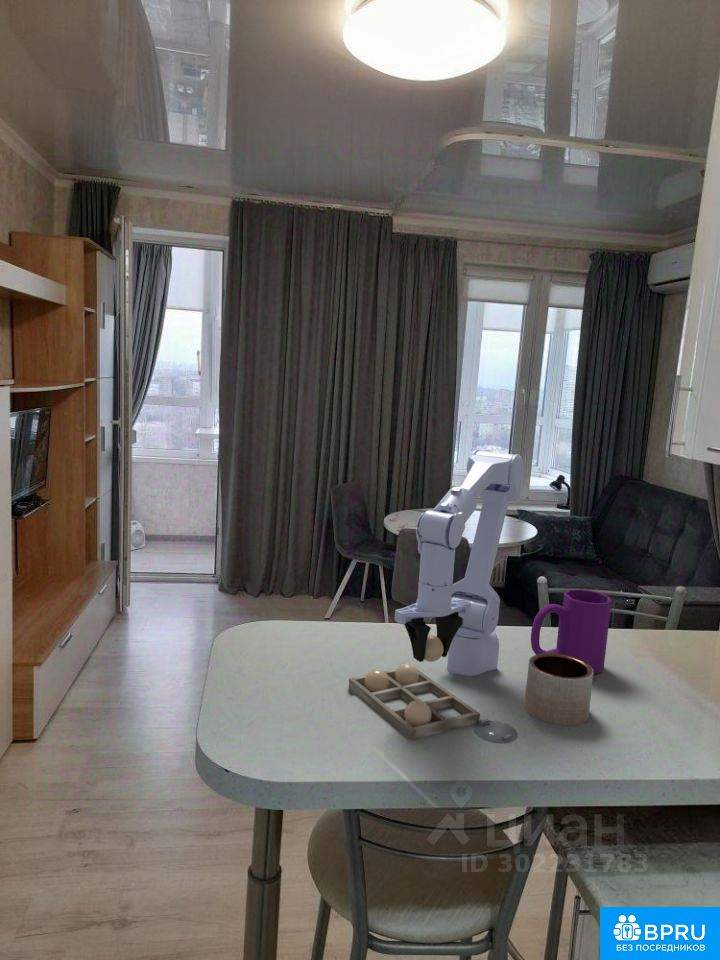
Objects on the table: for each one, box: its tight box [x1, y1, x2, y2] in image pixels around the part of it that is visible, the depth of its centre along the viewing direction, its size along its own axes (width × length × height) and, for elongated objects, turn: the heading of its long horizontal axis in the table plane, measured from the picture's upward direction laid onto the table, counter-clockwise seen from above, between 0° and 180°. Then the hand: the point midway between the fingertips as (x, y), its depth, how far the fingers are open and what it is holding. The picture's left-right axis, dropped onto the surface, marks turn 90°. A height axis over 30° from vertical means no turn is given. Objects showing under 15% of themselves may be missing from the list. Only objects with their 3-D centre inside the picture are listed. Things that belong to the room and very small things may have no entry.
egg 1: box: [364, 668, 389, 693], centre depth 123 cm, size 4×4×4 cm
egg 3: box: [404, 700, 431, 727], centre depth 112 cm, size 4×4×4 cm
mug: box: [530, 589, 612, 675], centre depth 142 cm, size 9×16×15 cm, turn 96°
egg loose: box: [424, 634, 444, 663], centre depth 120 cm, size 4×4×4 cm
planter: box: [523, 653, 594, 726], centre depth 120 cm, size 11×11×10 cm
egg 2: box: [395, 662, 419, 686], centre depth 127 cm, size 4×4×4 cm
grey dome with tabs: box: [473, 718, 519, 744], centre depth 112 cm, size 7×7×2 cm
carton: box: [348, 668, 481, 741], centre depth 120 cm, size 14×20×3 cm
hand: (430, 657), depth 120 cm, fingers closed on egg loose, 4 cm apart
